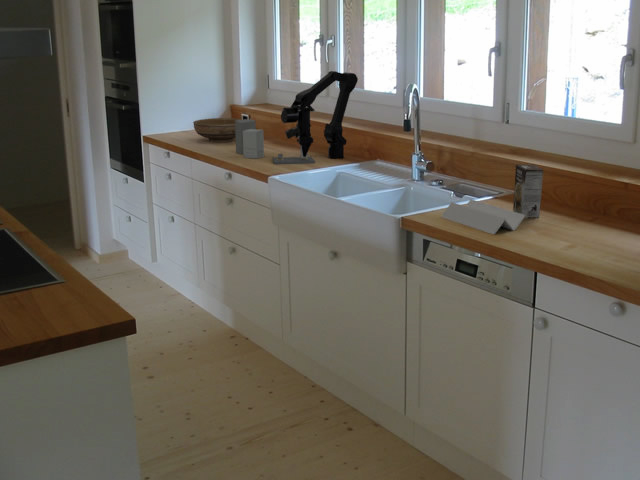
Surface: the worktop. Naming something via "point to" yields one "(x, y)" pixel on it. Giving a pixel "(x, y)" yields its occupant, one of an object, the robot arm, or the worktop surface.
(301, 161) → the plate
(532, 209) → the coffee box
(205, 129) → the wooden bowl
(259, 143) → the supplement box
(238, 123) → the skincare box
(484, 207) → the z bracket
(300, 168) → the worktop surface
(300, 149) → the block
